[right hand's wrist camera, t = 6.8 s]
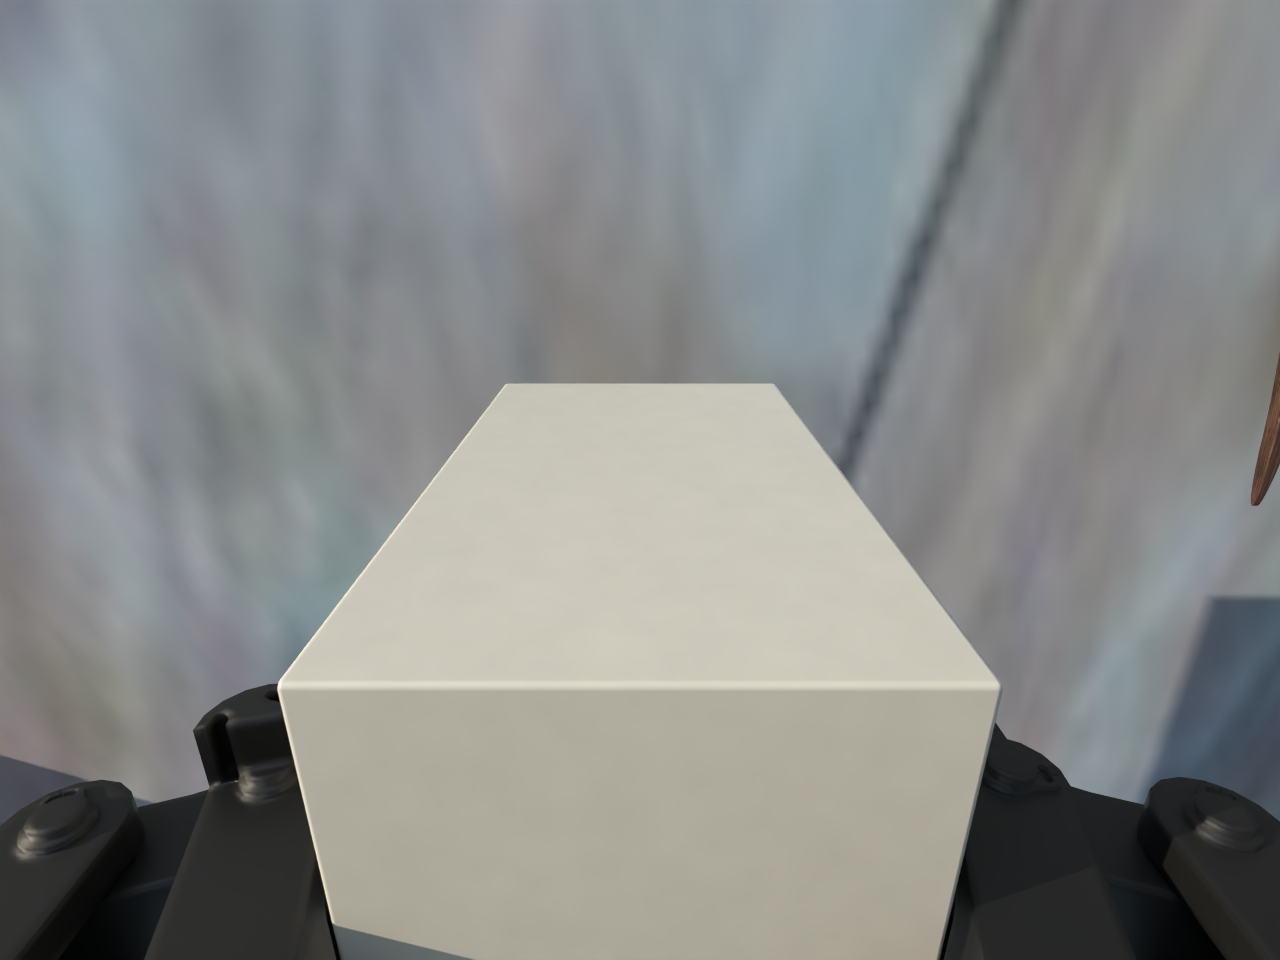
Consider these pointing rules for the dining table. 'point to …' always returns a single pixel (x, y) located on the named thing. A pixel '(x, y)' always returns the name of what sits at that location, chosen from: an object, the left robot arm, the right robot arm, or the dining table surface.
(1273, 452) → the fork
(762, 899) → the bar
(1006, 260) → the dining table surface
